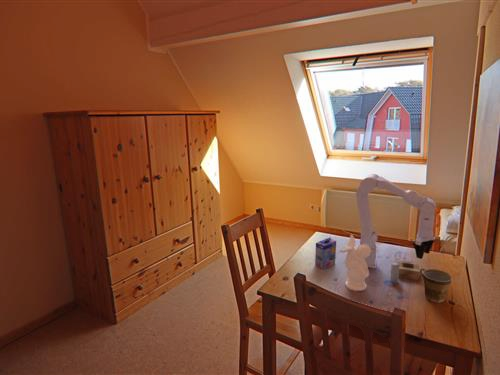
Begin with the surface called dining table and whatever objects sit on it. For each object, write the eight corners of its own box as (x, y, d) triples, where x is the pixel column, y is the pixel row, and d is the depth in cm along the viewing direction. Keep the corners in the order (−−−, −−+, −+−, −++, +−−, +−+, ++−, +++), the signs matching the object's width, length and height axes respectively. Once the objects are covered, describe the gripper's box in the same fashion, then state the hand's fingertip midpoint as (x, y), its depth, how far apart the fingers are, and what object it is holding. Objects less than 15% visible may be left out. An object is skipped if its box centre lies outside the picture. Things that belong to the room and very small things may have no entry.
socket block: (396, 276, 143) (397, 268, 142) (396, 267, 151) (397, 259, 150) (419, 280, 140) (419, 271, 139) (417, 270, 148) (418, 262, 147)
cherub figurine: (372, 291, 132) (375, 242, 127) (344, 295, 130) (347, 246, 125) (356, 277, 144) (359, 231, 138) (331, 280, 141) (333, 234, 136)
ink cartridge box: (323, 269, 151) (324, 241, 148) (314, 265, 156) (314, 238, 152) (336, 263, 157) (337, 236, 154) (327, 259, 162) (327, 233, 158)
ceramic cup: (455, 302, 123) (458, 278, 121) (434, 307, 120) (437, 283, 118) (428, 285, 135) (430, 264, 133) (409, 289, 132) (411, 267, 130)
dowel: (390, 282, 139) (391, 265, 137) (390, 278, 142) (391, 262, 140) (398, 283, 138) (399, 266, 136) (398, 279, 140) (399, 263, 139)
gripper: (429, 233, 130) (426, 263, 133) (442, 224, 140) (438, 253, 143) (411, 229, 135) (408, 258, 139) (425, 220, 145) (422, 248, 148)
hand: (422, 255), depth 141 cm, fingers open, 7 cm apart
